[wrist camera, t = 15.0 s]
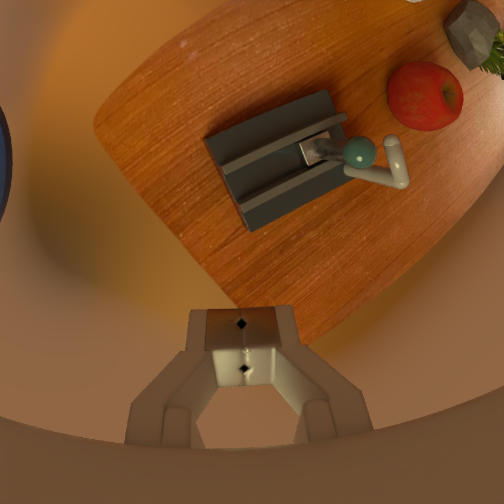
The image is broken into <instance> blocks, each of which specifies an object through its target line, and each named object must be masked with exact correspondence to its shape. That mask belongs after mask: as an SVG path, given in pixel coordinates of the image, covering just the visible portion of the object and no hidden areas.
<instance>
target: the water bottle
mask: <svg viewBox="0 0 504 504" xmlns="http://www.w3.org/2000/svg"><path fill="white" fill-rule="evenodd" d="M407 1H409V2H412V3H416V2H420V1H422V0H407Z"/></svg>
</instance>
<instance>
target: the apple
mask: <svg viewBox="0 0 504 504" xmlns="http://www.w3.org/2000/svg"><path fill="white" fill-rule="evenodd" d="M463 99H464V98H463V91H462V88H461V85H460V83H459V81H458V80H457V79H456V77H455V76H454V75H453V74H452V73H451V72H450V71H449V70H448V69H446V68H444V67H441V66H439V65H436V64H434V63H428V62H410V63H407V64H404V65H402V66H401V67H399V68H398V69H397V70H396V71H395V72H394V74H393V75H392V76H391V77H390V78H389V81H388V85H387V101H388V104H389V107H390V109H391V111H392V113H393V114H394V116H395V117H396V118H397V119H398V120H399V121H400V122H401V123H402V124H403V125H405V126H407V127H410V128H412V129H416V130H420V131H435V130H438V129H441V128H443V127H445V126H447V125H449V124H451V123H452V122H454V121H455V120H456V119H457V118H458V117H459V115H460V113H461V110H462V105H463Z"/></svg>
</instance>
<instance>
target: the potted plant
mask: <svg viewBox="0 0 504 504" xmlns="http://www.w3.org/2000/svg"><path fill="white" fill-rule="evenodd" d="M444 28H445V31H446V33H447V35H448V38H449V40H450V43H451V45H452V48H453V49H454V51H455V53H456V55H457V56H458V57H459V58H460V59H461V61H462V62H463V63H464V64H465V65H466V66H467V68H468V69H469V70H470V71H471V70H473V69H474V68H476V67H478V66H479V67H480V69H481V71H482V67H483V68H484V70H485V69H486V70H485V71H487V73H488V70H487V68H488V69H489V71H490V72H491V73H493V74H496V73H497V74H498V75H499V76H500V75H501V74H500V73H499V71H500V72H501V73H502V74H504V52H503V51H504V50H503V49H504V48H503V47H501V46H504V32H503V31H502V30H501V28H500V23H499V22H498V21H497V19H496V18H495V16H494V14H493V13H492V12H491V11H490V10H489V9H488V8H487V7H485V6H484V5H482V4H481V3H479V2H478V1H476V0H461V1H460V2H459V3H458V4H457V6H456V7H455V8H454V9H453V11H452V12H451V13H450V15H449V17H448V18H447V20H446V22H445V24H444ZM501 50H503V51H501ZM481 65H482V67H481ZM498 70H499V71H498ZM482 72H483V71H482ZM497 74H496V75H497ZM498 75H497V76H498Z"/></svg>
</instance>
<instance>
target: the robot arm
mask: <svg viewBox="0 0 504 504" xmlns="http://www.w3.org/2000/svg"><path fill="white" fill-rule="evenodd" d="M256 385H273V386H274V387H275V388H276V389H277V391H278V392H279V393H280V394H281V395H282V397H283V398H284V399H285V400H286V401H287V402H288V404H289V405H290V406H291V407H292V408H293V409H294V410H295V412H296V413H297V414H298V415H299V416H300V418H299V422H298V426H297V430H296V433H295V437H294V444H289V445H278V446H266V447H252V448H229V449H228V448H227V449H205V446H204V443H203V441H202V438H201V436H200V433H199V431H198V428H197V425H196V423H195V422H196V421H197V419H198V418H199V416H200V415H201V413H202V412H203V410H204V409H205V408H206V406H207V405H208V403H209V401H210V400H211V398H212V397H213V395H214V394H215V392H216V391H217V388H220V387H237V386H256ZM0 504H504V386H503V387H500V388H498V389H496V390H493V391H491V392H489V393H487V394H484V395H482V396H479V397H477V398H475V399H472V400H470V401H467V402H465V403H462V404H459V405H456V406H454V407H451V408H448V409H445V410H443V411H439V412H437V413H433V414H430V415H427V416H424V417H421V418H418V419H414V420H411V421H407V422H404V423H400V424H397V425H393V426H389V427H385V428H381V429H376V430H374V429H373V426H372V423H371V420H370V416H369V413H368V410H367V407H366V403H365V401H364V397H363V394H362V391H361V390H359V389H358V388H357V387H356V386H354V385H353V384H352V383H351V382H349V381H348V380H347V379H346V378H345V377H344V376H342V375H341V374H340V373H339V372H337V371H336V370H335V369H334V368H333V367H332V366H330V365H329V364H328V363H327V362H326V361H324V360H323V359H322V358H321V357H320V356H319V355H317V354H316V353H315V352H314V351H313V350H311V349H310V348H309V347H308V346H307V345H301V343H300V339H299V334H298V330H297V326H296V322H295V317H294V313H293V309H292V306H291V305H279V306H274V307H273V306H268V307H253V308H237V309H208V310H191V311H190V314H189V322H188V331H187V340H186V349H185V351H180V352H179V353H178V354H177V355H176V356H175V358H174V359H173V360H172V361H171V362H170V363H169V364H168V365H167V366H166V367H165V368H164V369H163V370H162V371H161V372H160V374H159V375H158V376H157V377H156V378H155V379H154V380H153V381H152V382H151V383H150V384H149V385H148V386H147V387H146V388H145V389H144V390H143V391H142V392H141V393H140V395H139V396H138V397H137V398H136V399H135V400H134V401H133V402H132V403H131V407H130V413H129V418H128V423H127V430H126V435H125V441H124V444H122V443H114V442H107V441H100V440H94V439H88V438H83V437H78V436H72V435H68V434H63V433H58V432H53V431H49V430H45V429H42V428H38V427H34V426H30V425H26V424H23V423H20V422H16V421H13V420H10V419H7V418H3V417H0Z"/></svg>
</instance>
